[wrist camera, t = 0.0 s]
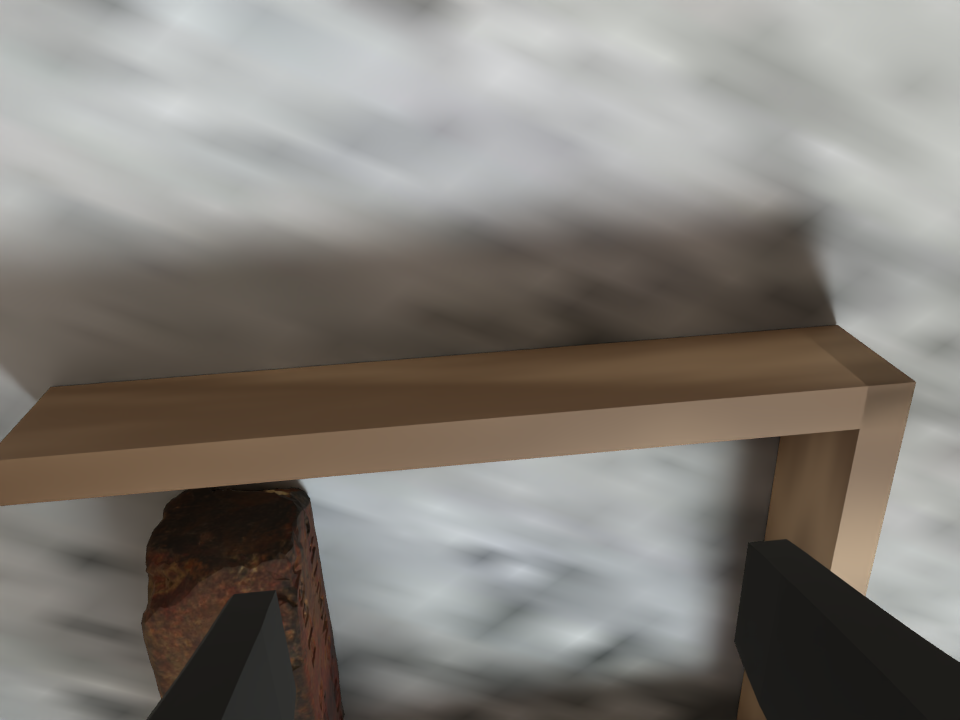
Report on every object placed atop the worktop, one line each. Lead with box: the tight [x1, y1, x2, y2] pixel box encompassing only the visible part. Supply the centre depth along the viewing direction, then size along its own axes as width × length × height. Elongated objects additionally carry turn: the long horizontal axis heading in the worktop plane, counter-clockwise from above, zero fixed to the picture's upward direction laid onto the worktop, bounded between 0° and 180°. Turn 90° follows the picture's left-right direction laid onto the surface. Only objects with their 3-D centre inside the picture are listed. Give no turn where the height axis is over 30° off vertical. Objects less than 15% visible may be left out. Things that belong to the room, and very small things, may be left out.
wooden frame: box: [0, 325, 916, 720], centre depth 23 cm, size 17×22×4 cm
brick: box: [141, 487, 344, 720], centre depth 22 cm, size 11×4×5 cm, turn 2°
